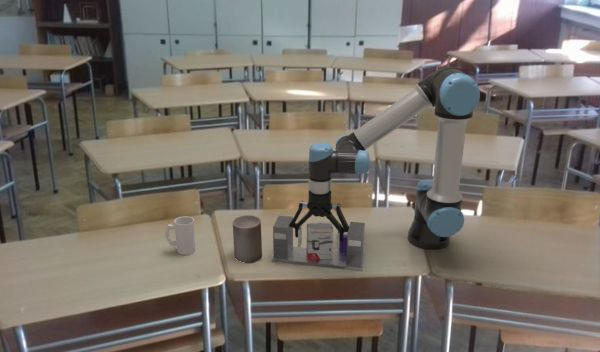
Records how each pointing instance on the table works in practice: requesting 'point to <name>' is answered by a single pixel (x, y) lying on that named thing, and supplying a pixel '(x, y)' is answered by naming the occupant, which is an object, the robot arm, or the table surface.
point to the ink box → (319, 240)
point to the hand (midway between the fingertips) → (318, 247)
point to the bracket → (343, 244)
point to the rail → (340, 259)
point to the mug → (183, 235)
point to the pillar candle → (247, 239)
